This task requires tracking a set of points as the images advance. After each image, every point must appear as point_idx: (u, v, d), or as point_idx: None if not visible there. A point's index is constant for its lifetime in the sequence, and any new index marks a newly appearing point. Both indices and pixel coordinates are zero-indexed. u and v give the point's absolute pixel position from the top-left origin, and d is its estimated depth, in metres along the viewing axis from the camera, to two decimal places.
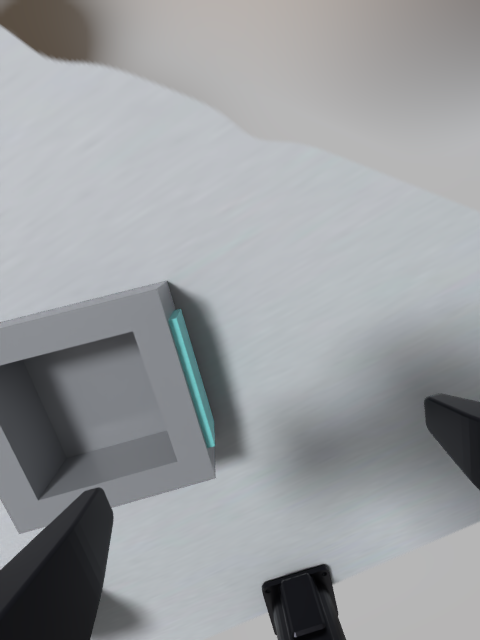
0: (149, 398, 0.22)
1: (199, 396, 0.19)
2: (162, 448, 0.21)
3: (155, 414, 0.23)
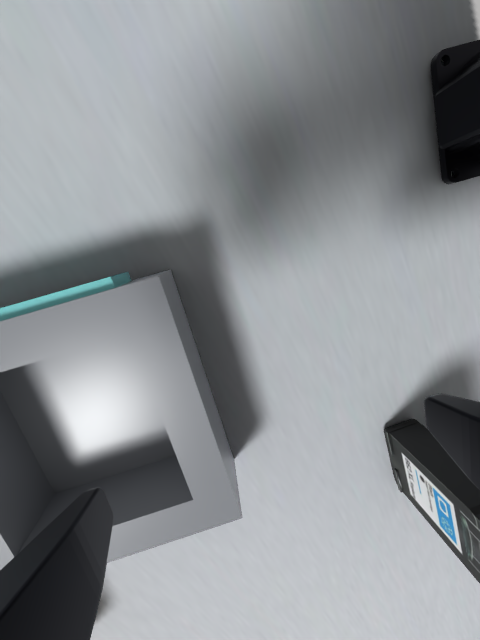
0: (105, 357, 0.17)
1: (24, 302, 0.13)
2: None
3: (129, 350, 0.17)
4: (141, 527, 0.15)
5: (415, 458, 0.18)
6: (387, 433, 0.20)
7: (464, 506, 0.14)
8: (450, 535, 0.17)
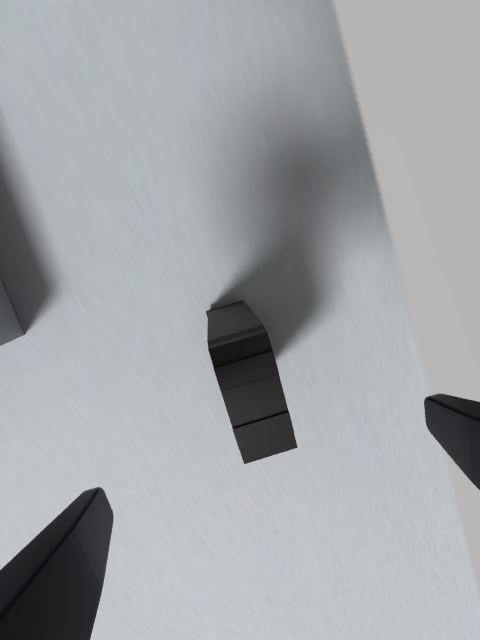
0: None
1: None
2: None
3: None
4: None
5: (208, 321, 0.15)
6: (207, 312, 0.17)
7: (208, 341, 0.11)
8: None
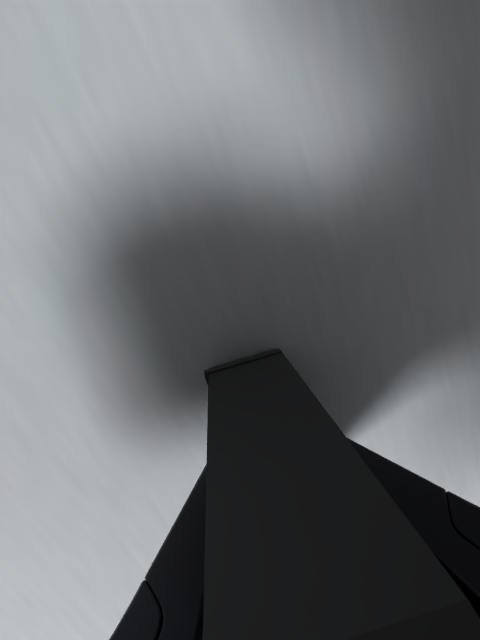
0: None
1: None
2: None
3: None
4: None
5: (208, 426, 0.06)
6: (206, 375, 0.08)
7: None
8: None
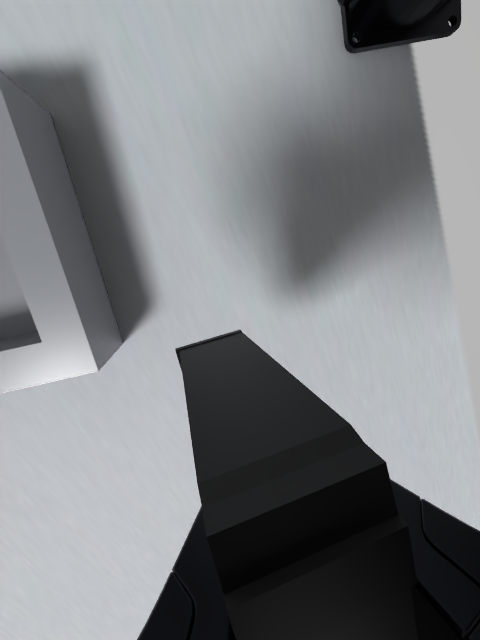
0: None
1: None
2: None
3: None
4: None
5: (183, 380, 0.07)
6: (177, 352, 0.10)
7: (197, 477, 0.04)
8: None
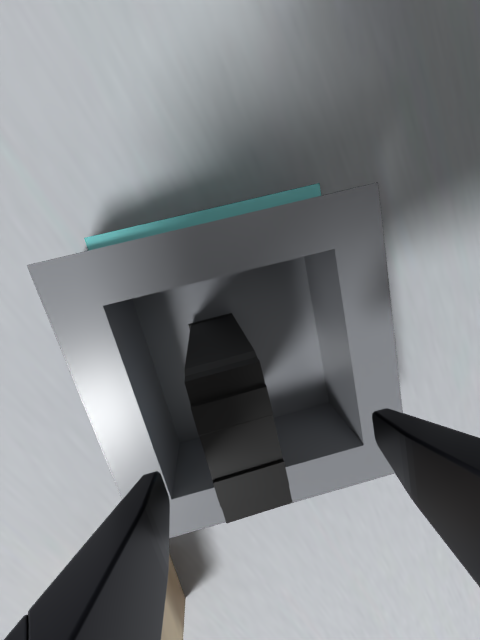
0: (253, 294, 0.16)
1: (224, 206, 0.11)
2: (322, 277, 0.14)
3: (278, 287, 0.16)
4: (305, 473, 0.14)
5: None
6: (189, 326, 0.15)
7: (185, 369, 0.09)
8: None
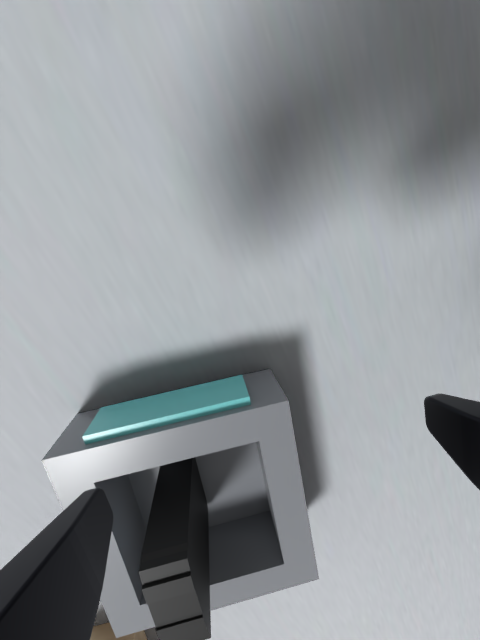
0: None
1: (181, 412, 0.16)
2: None
3: None
4: (241, 584, 0.19)
5: (154, 494, 0.17)
6: None
7: (142, 551, 0.14)
8: None
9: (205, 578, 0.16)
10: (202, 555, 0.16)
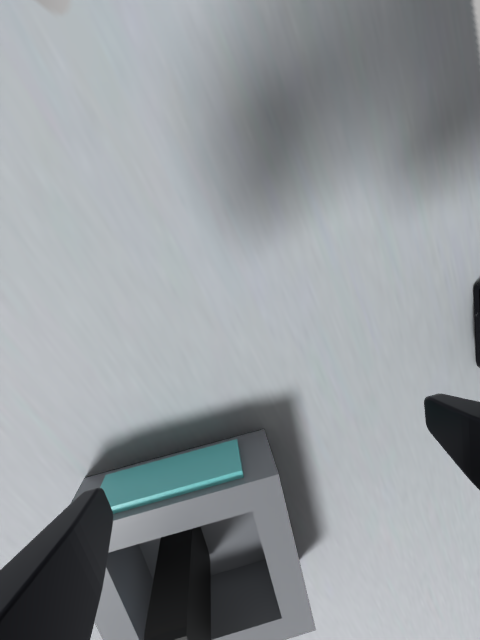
0: None
1: (179, 487, 0.17)
2: None
3: None
4: (241, 637, 0.20)
5: (157, 559, 0.18)
6: None
7: (146, 626, 0.15)
8: None
9: None
10: (203, 618, 0.18)
